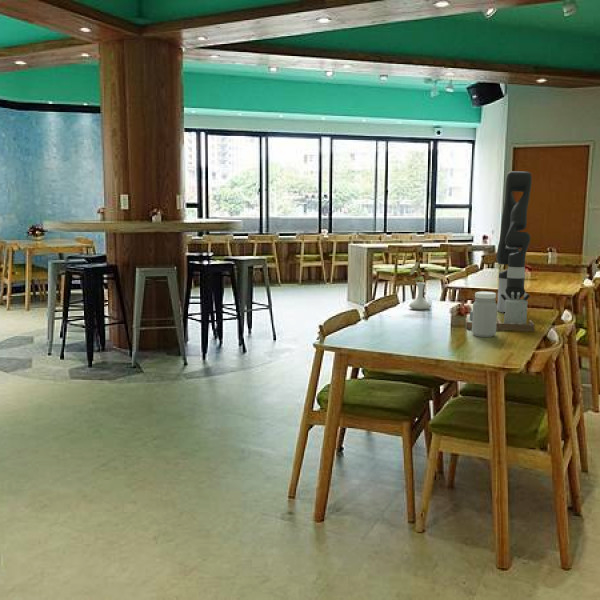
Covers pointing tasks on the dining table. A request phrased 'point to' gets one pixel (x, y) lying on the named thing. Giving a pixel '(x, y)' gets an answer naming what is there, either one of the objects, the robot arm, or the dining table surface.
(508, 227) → the robot arm
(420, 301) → the flower in vase
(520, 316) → the speckled white canister
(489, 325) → the jar
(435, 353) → the dining table surface
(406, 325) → the dining table surface
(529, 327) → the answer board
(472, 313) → the block slate
